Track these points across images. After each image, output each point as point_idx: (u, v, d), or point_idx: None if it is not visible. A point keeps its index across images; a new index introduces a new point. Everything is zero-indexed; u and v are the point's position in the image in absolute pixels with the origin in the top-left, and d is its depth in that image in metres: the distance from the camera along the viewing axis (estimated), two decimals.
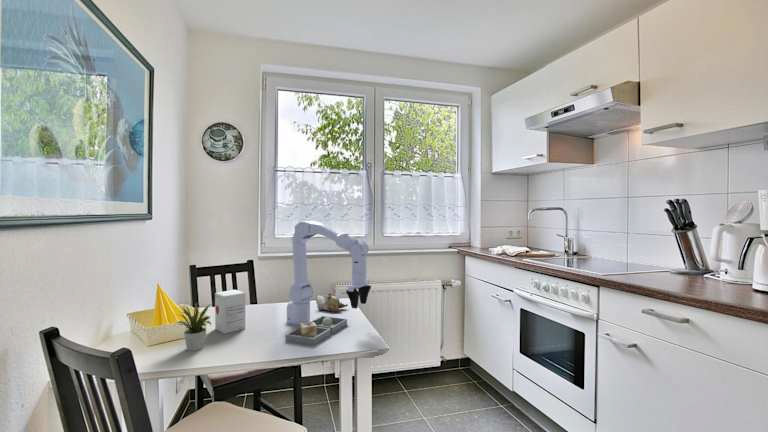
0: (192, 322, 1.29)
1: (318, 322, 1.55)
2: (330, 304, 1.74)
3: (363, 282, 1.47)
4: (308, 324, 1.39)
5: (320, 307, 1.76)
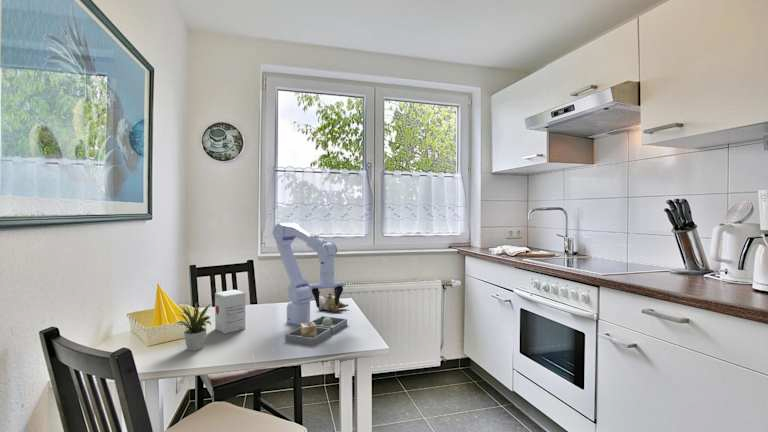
0: (192, 322, 1.29)
1: (318, 322, 1.55)
2: (330, 304, 1.75)
3: (325, 283, 1.48)
4: (308, 324, 1.39)
5: (320, 307, 1.76)
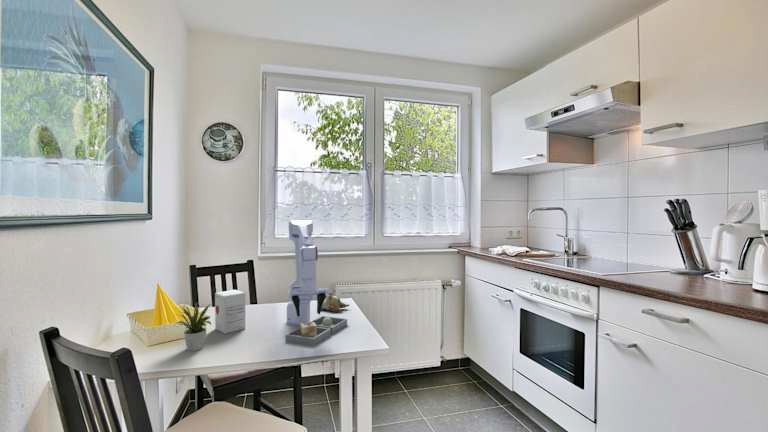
0: (192, 322, 1.29)
1: (318, 322, 1.55)
2: (331, 304, 1.75)
3: (306, 290, 1.36)
4: (308, 324, 1.39)
5: None
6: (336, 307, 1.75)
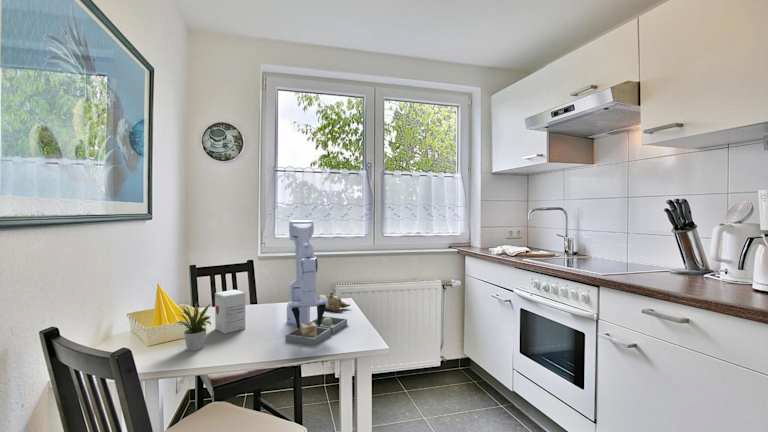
0: (192, 322, 1.29)
1: None
2: (331, 303, 1.75)
3: (306, 301, 1.36)
4: (308, 324, 1.39)
5: None
6: (336, 307, 1.75)
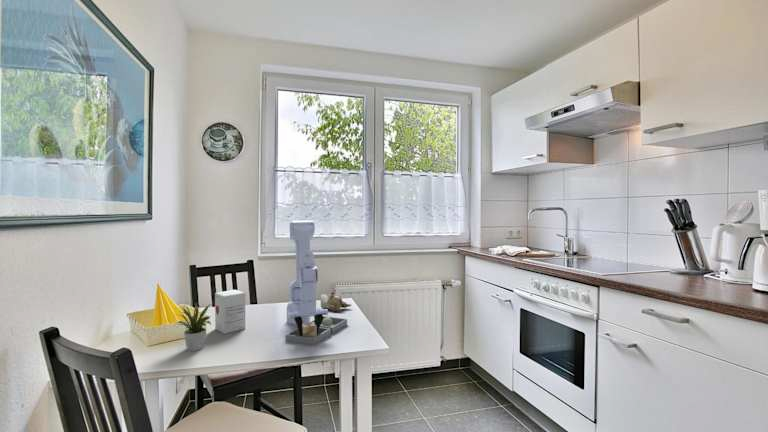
0: (192, 322, 1.29)
1: None
2: (332, 303, 1.76)
3: (306, 311, 1.36)
4: (308, 324, 1.39)
5: (323, 305, 1.79)
6: (337, 307, 1.76)
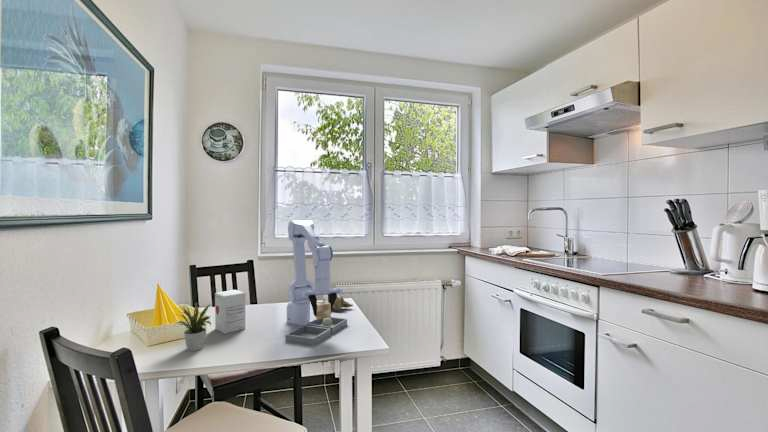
0: (192, 322, 1.29)
1: (318, 322, 1.55)
2: None
3: (321, 289, 1.36)
4: (322, 303, 1.39)
5: None
6: (337, 306, 1.76)
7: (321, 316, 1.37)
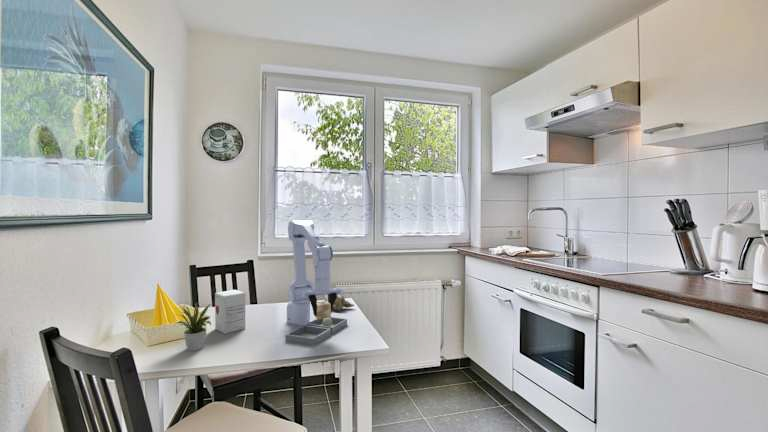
0: (192, 322, 1.29)
1: (318, 322, 1.55)
2: None
3: (321, 289, 1.36)
4: (322, 303, 1.39)
5: None
6: (338, 306, 1.77)
7: (321, 316, 1.37)
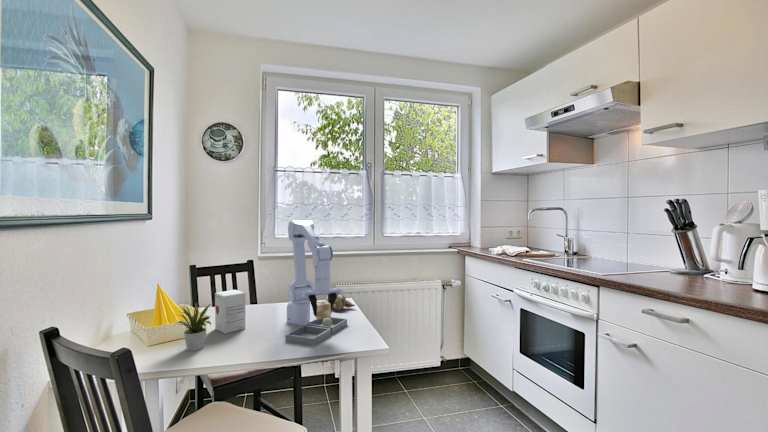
0: (192, 322, 1.29)
1: (318, 322, 1.55)
2: (334, 302, 1.78)
3: (321, 289, 1.36)
4: (322, 303, 1.39)
5: None
6: (338, 306, 1.77)
7: (321, 316, 1.37)
